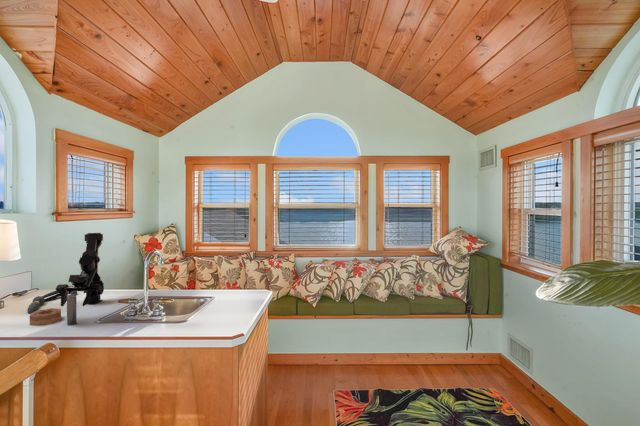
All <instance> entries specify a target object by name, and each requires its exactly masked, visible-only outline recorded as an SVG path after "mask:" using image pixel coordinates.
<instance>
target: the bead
mask: <svg viewBox="0 0 640 426" xmlns="http://www.w3.org/2000/svg"><path fill="white" fill-rule="evenodd" d="M29 314H30V315H29V325H30V326H42V325H43V326H44V325H49V324H53V323H56V322H58V321H61V319H62V308H58V307H57V308H55V307H51V308H46V309H45V308H44V309H40V310H35V311H33V312H31V313H29Z"/></svg>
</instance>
